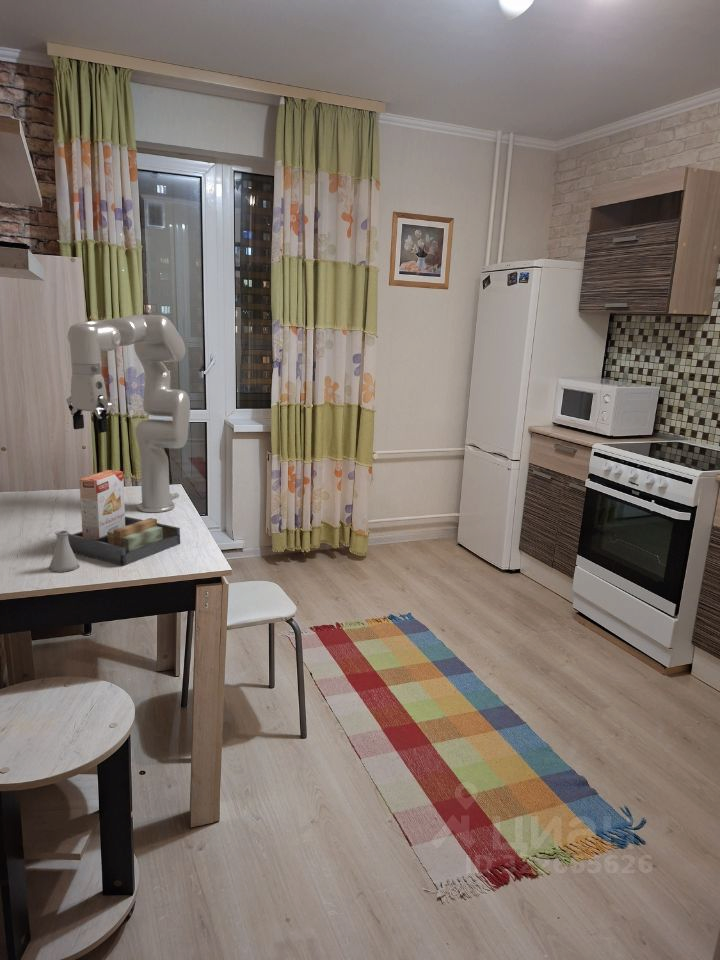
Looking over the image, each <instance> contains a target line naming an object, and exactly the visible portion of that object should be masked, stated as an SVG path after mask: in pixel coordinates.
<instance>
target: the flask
mask: <svg viewBox="0 0 720 960" xmlns="http://www.w3.org/2000/svg"><path fill="white" fill-rule="evenodd" d="M54 533H55V536H56V544H55V548H54V552H53V555H52V558H51V561H50V564H49V567H48V568H49V569H50V570H51V571H52V572H59V573H64V572H68V571H74V570H75V569H78V568H79V567H80V566H81V565H80V563H79V561H78V559H77V557H76V556H75V555H76V554H75V553H73V551H72V549H71V547H70V544H69V540H68V534H70V531H68V530H63V529H62V530H57V531H55V532H54Z"/></svg>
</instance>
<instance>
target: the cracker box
mask: <svg viewBox="0 0 720 960" xmlns="http://www.w3.org/2000/svg"><path fill="white" fill-rule="evenodd" d="M124 481H125V480H124V471H121V470H114V469H113V470H112V469H106V470H104V471H101V472H100V471H99V472H98V473H95V474H91V475H88V476H85V477H82V478H80V479H79V493H80V495H79V496H80V510H81V511H80V514H81V532H82V535H83V537H85V538H89V539H96V538H99V537H102V536H105V535H107V532H108V531H112V530H115V529H118V528H121V527H124V526H125V516H126V512H125V511H126V510H125V485H124V484H125V483H124Z"/></svg>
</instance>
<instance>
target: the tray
mask: <svg viewBox="0 0 720 960" xmlns="http://www.w3.org/2000/svg"><path fill="white" fill-rule="evenodd" d="M143 520H144V519H140V518H137V517H136V518H135V517H130V516H126V515H125V526H127V525H130V524H133V523H136V522H139V521H143ZM157 526H158V527H162V531H163V539H162V540H159V541H156V542H154V543H151V544H148V545H145V546H143V547H140V548H137V549H135V550H132V551H129V552H126V550H125V547H122V546H118V545H113V544H109V543H108V535H105V536H102V537H99V538H96V539H89V538H85V537H83V535H82V531H77V532H75V533H73V534H71V533H69V534H68V540H69V544H70V547H71V549H72V551H73V553H74V554H76V553H77V554H76V555H79V554H80V555H79V556H83V555H84V556H83V557H87V556H88V558H92V559H95V560H99V561H103V562H107V563H111V564H114V565H118V566H127V565H129V564H132V563H134V562H137V561H140V560H142V559H143V560H144V558H147V557H151V556H153V555H155V554H158V553H160V552H163V551H165V549H166V550H168V549H171V548H173V547H175V546H178V545H180V544H181V530H180V529H181V528H180V527H177V526H173V525H168V524H164V523H159V522H157ZM170 547H171V548H170Z"/></svg>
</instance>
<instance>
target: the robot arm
mask: <svg viewBox="0 0 720 960" xmlns="http://www.w3.org/2000/svg"><path fill="white" fill-rule="evenodd" d="M67 341H68V343H69V350H70V351H69V353H70V361H71V362H70V363H71V365H70V366H71V380H70V396H69V397H68V398H66V403H67V406H68V410H69V411H70V414H71V416H72V426H73V430H80V429H81V430H82V429H84V428H85V421H84V417H85V416H84V414H83V412H84V411H85V412H93V413H94V414H95V416H96V417H97V418H96V419H95V421H96V424H95V425H96V432H97V434H98V433H99V434H102V433H107V432H108V418H109V415H110V413H111V409H112V403H111V402H110V401H109V400H108V395H107V388H106V383H105V379H104V376H103V375H102V369H101V352H111V351H114V350H116V349H118V347H126V346H131V345H133V348H134V352H135V354H136V356H137V359H138V360H139V362H140V364H141V366H142V368H143V370H144V386H143V387H144V388H143V400H142V408H143V412H144V413H145V414H147V415H148V416H149V415H150V416H154V417H168V418H169V417H170V418H172V420H171V419H170V420H168V419H167V420H164V419H154V418H153V419H151V418H150V419H143V420H141V421H139V422H138V423H137V425H136V427H135V438H136V442H137V447H138V453H139V454H138V455H139V465H140V467H139V469H140V470H139V471H140V487H141V490H140V491H141V502H140V503H139V504H137V510H138V511H140V512H144V513H162V512H168V511H171V510H173V509H174V508H175V504H176V503H174V502H173V500H175V499H178V498H179V496H180V494H179V493H178V492H175V493H171V492H170V467H169V458H168V455H167V453H166V451H165V450H164V449H182V448H183V447H185V445H186V444H187V441H188V437H189V435H188V434H189V427H190V415H191V401H190V400H191V399H190V397H189V395H188V393H187V392H186V391H185V390H182V389H176V388H175V389H173V388H171V379H172V378H171V373H170V371H169V369H168V368H167V366H166V365H165V364H164V362H166V363H167V362H169V363H170V362H171V363H177V362H180V361H182V360H183V359H184V357H185V355H186V345H185V342H184V340H183V338H182V336H181V335H180V333H179V331H178V330H177V328H176V327H175V325H174V323H173V322H172V321H171V319H169V318H168V317H167V316H165V315H162V314H134V315H129V316H123V317H116V318H115V317H114V318H108V319H98V320H89V321H81V322H77V323H74V324H73V325H70V327H69V329H68V331H67Z"/></svg>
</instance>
